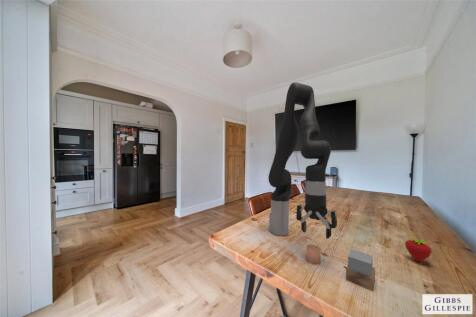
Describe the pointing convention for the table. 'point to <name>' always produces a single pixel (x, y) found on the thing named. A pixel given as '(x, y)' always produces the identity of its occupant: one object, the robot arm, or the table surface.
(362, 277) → the tower base
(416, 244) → the strawberry
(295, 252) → the table surface
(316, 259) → the terracotta cylinder
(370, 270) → the tower middle
